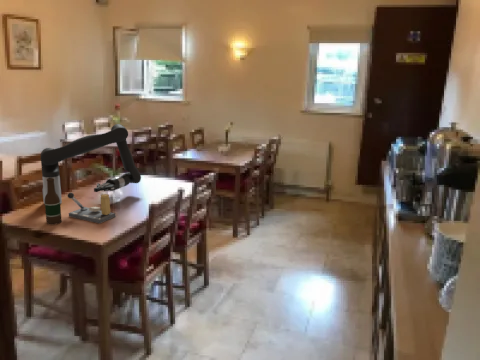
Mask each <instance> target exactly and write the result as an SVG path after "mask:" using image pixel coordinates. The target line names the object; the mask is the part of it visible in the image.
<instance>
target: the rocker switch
mask: <svg viewBox="0 0 480 360" xmlns="http://www.w3.org/2000/svg"><path fill="white" fill-rule="evenodd" d="M88 208H89V211H94V212H96V211H100V210H101V207H100V206H99V207H98V206H91V207H88Z"/></svg>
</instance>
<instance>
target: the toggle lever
mask: <svg viewBox="0 0 480 360" xmlns="http://www.w3.org/2000/svg"><path fill="white" fill-rule="evenodd" d="M67 198H68V199H71V200H72V201H73V202H74V203H75V204H76V205H77V206H78V207H79V209H83V208H84V207H85V206H83V204H81V201H79V200H78V199H77V198H76V197H75V194H74V193H73V192H68V193H67Z"/></svg>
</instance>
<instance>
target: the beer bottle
mask: <svg viewBox="0 0 480 360" xmlns="http://www.w3.org/2000/svg"><path fill="white" fill-rule="evenodd" d="M44 211H45V219H46V224H47V225H58V224H61V223H62V210H61V204H60V199H59V196H58V195H57V193H56V192H55V187H54V178H47V194H46V196H45V204H44Z"/></svg>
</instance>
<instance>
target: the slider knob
mask: <svg viewBox="0 0 480 360" xmlns="http://www.w3.org/2000/svg"><path fill="white" fill-rule="evenodd" d="M110 201H111V198H110V194H108V193H104V194H103V193H102V194H101V195H100V206H101V207H100V208H101V211H102V214H104V215H108V214H110V212H111V202H110Z"/></svg>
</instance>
